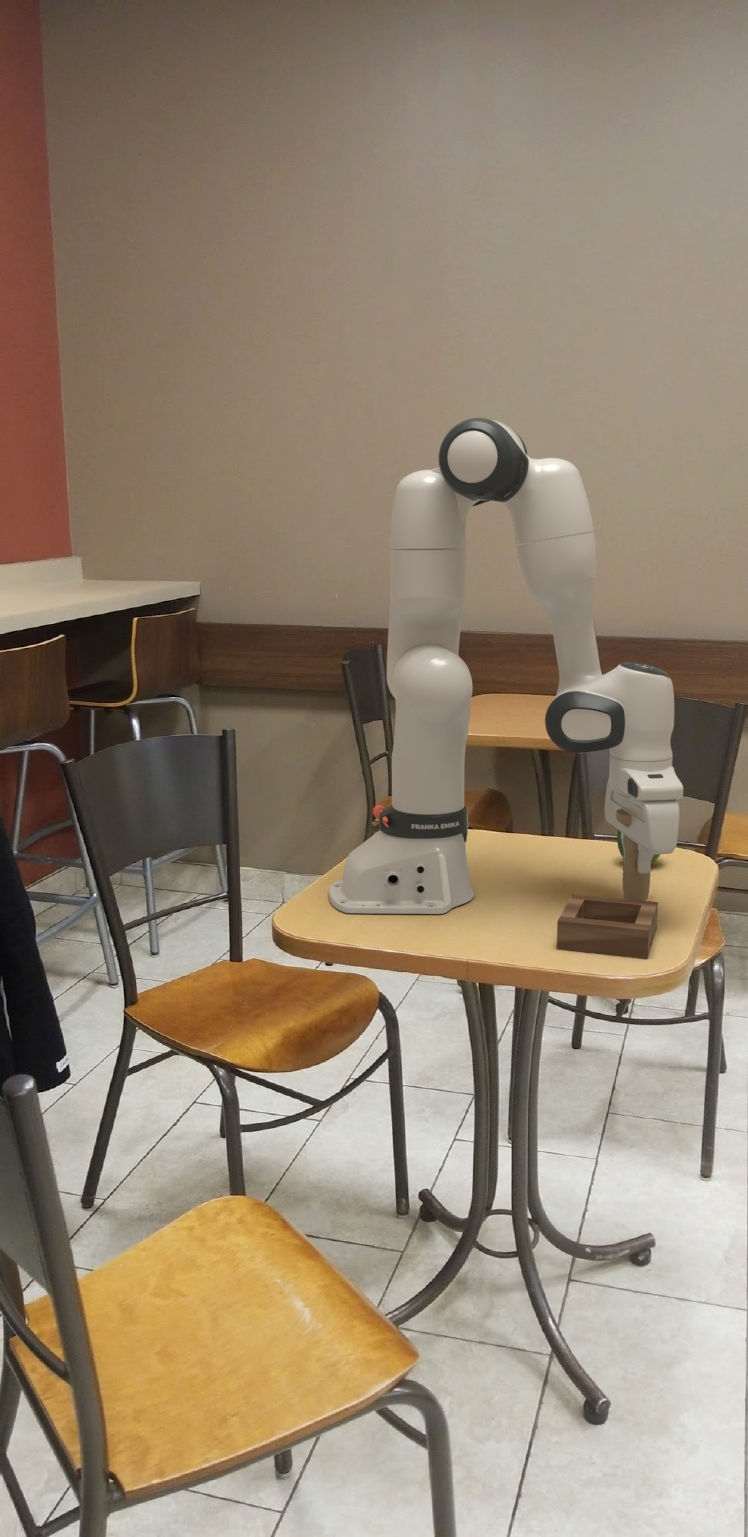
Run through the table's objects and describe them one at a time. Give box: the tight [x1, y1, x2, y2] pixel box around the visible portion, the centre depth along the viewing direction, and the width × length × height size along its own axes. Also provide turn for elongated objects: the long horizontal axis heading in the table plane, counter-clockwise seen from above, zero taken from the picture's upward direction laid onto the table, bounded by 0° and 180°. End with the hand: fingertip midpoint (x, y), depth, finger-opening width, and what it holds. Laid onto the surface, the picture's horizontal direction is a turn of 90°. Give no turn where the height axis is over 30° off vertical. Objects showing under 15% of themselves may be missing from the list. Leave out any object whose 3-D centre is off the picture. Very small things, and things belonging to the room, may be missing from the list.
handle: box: [616, 809, 651, 901], centre depth 170 cm, size 5×6×15 cm
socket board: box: [556, 893, 659, 960], centre depth 159 cm, size 12×12×4 cm
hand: (636, 867), depth 170 cm, fingers closed on handle, 3 cm apart
